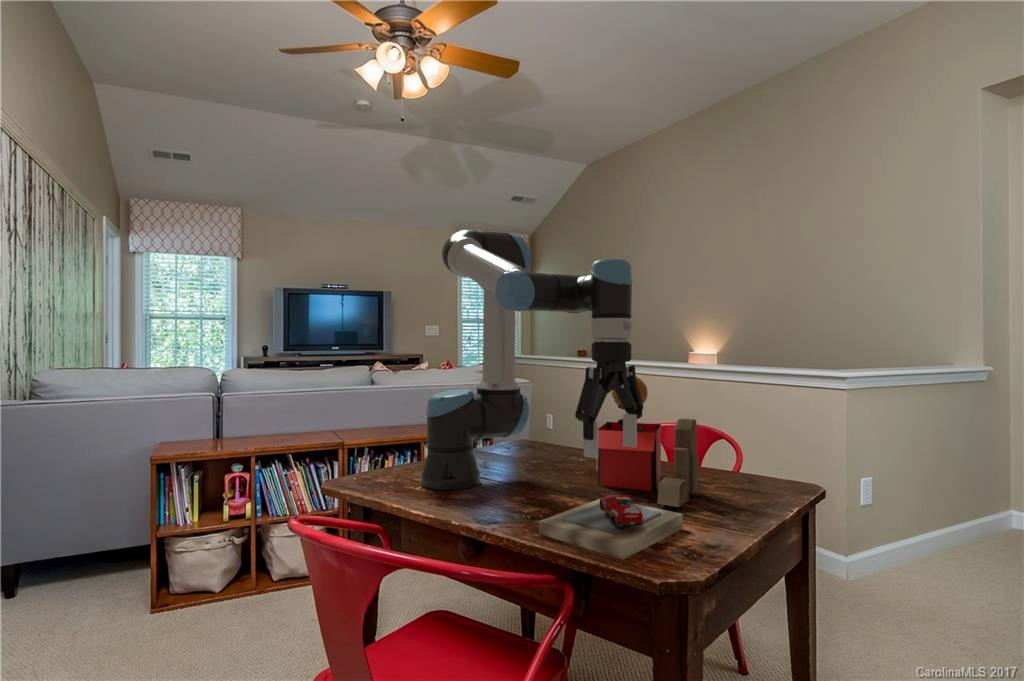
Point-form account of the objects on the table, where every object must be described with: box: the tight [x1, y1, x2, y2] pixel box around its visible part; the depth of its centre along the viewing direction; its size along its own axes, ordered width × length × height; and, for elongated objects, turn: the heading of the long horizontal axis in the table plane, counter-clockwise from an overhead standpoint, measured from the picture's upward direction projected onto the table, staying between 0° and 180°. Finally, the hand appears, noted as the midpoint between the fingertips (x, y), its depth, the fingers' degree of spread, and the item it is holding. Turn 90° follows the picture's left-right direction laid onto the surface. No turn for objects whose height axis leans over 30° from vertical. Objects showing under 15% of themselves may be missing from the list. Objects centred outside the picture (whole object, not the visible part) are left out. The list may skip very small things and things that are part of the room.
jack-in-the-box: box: [595, 376, 664, 492], centre depth 148 cm, size 26×16×30 cm, turn 160°
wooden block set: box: [657, 418, 699, 508], centre depth 130 cm, size 17×6×18 cm, turn 148°
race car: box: [599, 494, 643, 527], centre depth 105 cm, size 13×5×4 cm, turn 6°
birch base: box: [538, 498, 684, 560], centre depth 108 cm, size 18×22×3 cm
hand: (611, 451), depth 108 cm, fingers open, 13 cm apart
